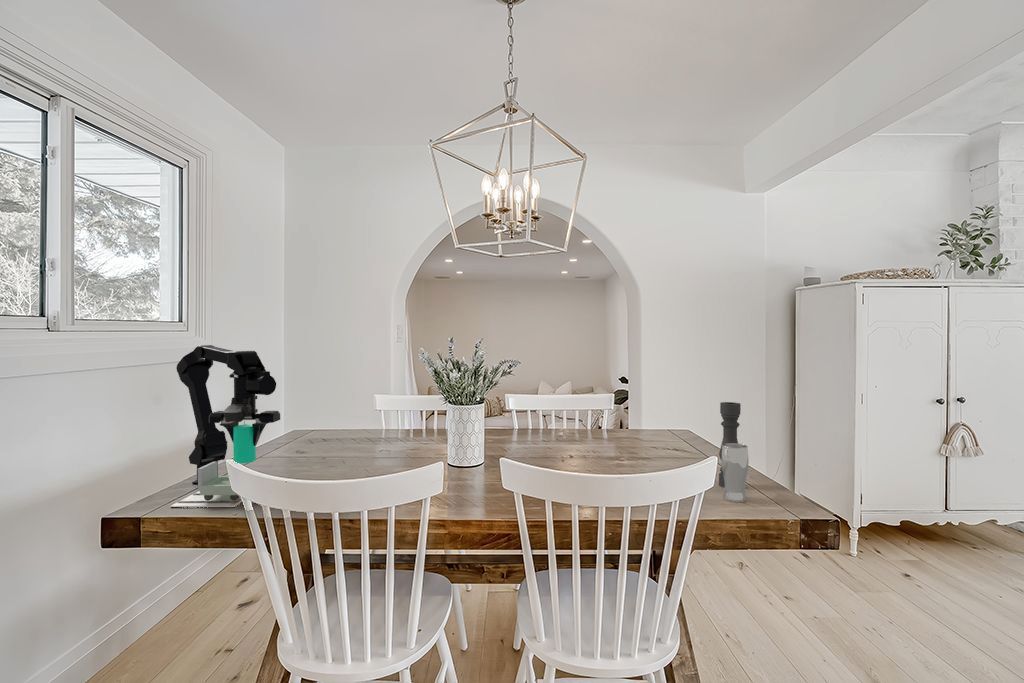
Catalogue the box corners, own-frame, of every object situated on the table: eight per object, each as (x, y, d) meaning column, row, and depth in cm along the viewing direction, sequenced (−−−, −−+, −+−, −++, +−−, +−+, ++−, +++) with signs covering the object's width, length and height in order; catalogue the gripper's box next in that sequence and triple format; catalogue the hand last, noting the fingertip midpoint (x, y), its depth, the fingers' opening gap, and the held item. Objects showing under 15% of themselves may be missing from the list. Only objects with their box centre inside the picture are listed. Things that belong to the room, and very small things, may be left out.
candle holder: (743, 485, 165) (744, 403, 165) (736, 489, 160) (737, 405, 160) (723, 481, 169) (723, 401, 169) (715, 485, 165) (716, 403, 164)
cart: (215, 490, 156) (215, 460, 156) (254, 490, 156) (254, 460, 156) (196, 501, 146) (195, 469, 146) (237, 501, 146) (237, 469, 146)
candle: (246, 463, 158) (246, 422, 158) (228, 463, 159) (228, 422, 159) (260, 459, 164) (259, 419, 164) (242, 458, 165) (242, 418, 165)
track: (198, 493, 158) (198, 490, 158) (257, 493, 158) (256, 490, 158) (170, 507, 145) (170, 505, 145) (234, 507, 145) (234, 504, 145)
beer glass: (748, 497, 153) (748, 444, 153) (747, 504, 147) (748, 449, 147) (722, 494, 156) (722, 442, 156) (720, 500, 150) (720, 446, 150)
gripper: (197, 396, 153) (198, 452, 153) (264, 396, 153) (265, 451, 154) (218, 392, 164) (219, 443, 164) (280, 392, 164) (281, 443, 165)
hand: (245, 445), depth 161 cm, fingers closed on candle, 5 cm apart
